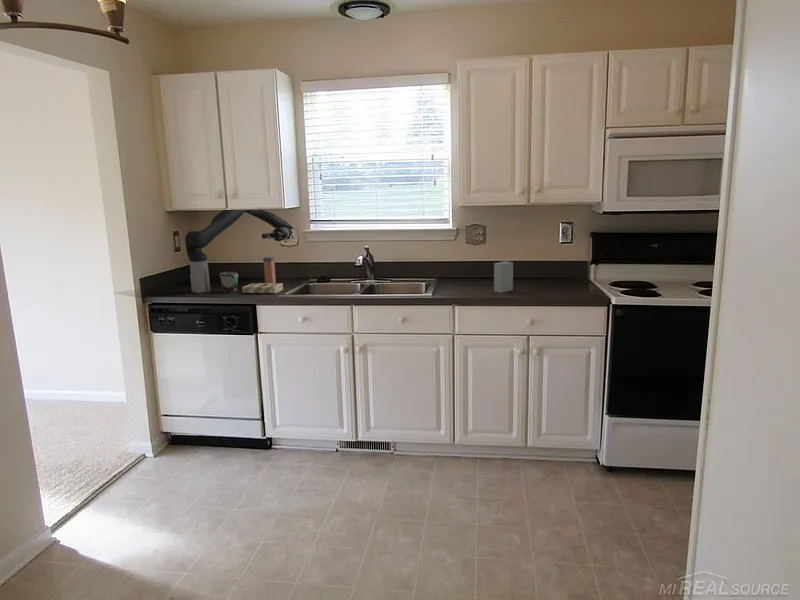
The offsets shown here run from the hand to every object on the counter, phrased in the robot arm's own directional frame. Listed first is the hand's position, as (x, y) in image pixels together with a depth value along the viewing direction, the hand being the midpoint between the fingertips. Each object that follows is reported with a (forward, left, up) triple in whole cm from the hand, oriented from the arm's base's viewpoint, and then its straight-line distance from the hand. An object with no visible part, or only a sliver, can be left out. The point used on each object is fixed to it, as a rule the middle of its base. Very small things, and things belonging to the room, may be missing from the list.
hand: (270, 236), depth 315 cm
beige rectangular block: (+8, -15, -28) cm, 33 cm away
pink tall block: (+2, -4, -28) cm, 28 cm away
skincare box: (+122, +44, -28) cm, 133 cm away
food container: (-10, -21, -28) cm, 37 cm away
